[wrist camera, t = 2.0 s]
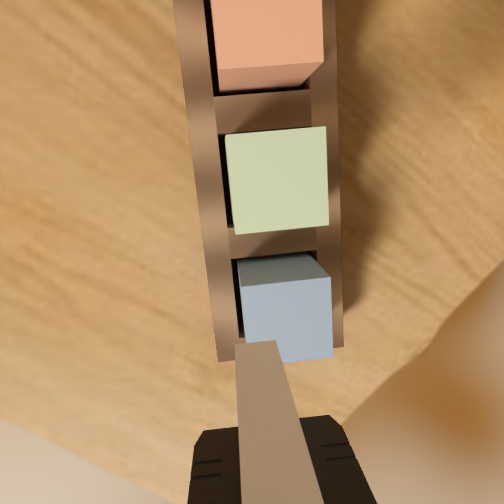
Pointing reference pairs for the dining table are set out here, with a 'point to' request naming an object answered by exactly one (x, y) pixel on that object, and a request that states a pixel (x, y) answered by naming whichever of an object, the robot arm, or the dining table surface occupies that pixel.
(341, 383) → the dining table surface
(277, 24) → the salmon pink cube
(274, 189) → the pastel lime cube
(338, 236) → the wooden cube holder tray
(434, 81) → the dining table surface
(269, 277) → the pale blue-grey cube
